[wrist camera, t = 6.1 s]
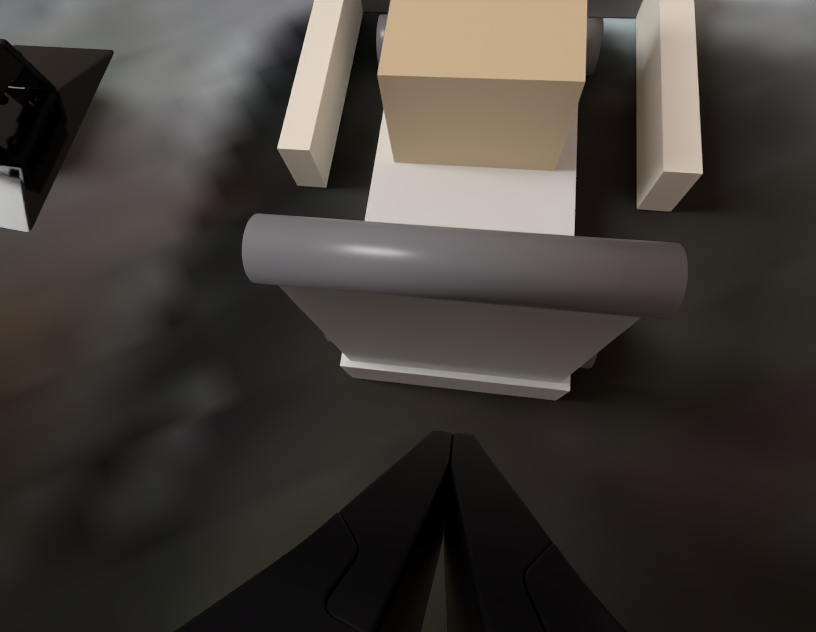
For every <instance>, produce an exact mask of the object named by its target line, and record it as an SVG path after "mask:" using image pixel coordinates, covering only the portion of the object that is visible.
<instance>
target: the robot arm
mask: <svg viewBox="0 0 816 632" xmlns="http://www.w3.org/2000/svg"><path fill="white" fill-rule="evenodd" d="M452 438H453V440H452ZM446 503H447V504H446ZM445 514H446V516H445ZM444 524H445V527H444ZM443 533H444V565H445V588H446V611H447V632H627V631H626V630H625V629H624V628H623V627H622V625H621V624H620V623H619V622H618V621H617V620H616V619H615V618H614V617H613V616H612V614H611V613H610V612H609V611H608V610H607V609H606V608H605V606H604V605H603V604H602V603H601V602H600V601H599V600H598V598H597V597H596V596H595V595H594V594H593V593H592V591H591V590H590V589H589V588H588V587H587V586H586V584H585V583H584V582H583V581H582V579H581V578H580V577H579V575H578V574H577V573H576V572H575V570H574V569H573V568H572V567H571V565H570V564H569V563H568V561H567V560H566V559H565V557H564V556H563V555H562V553H561V552H560V551H559V549H558V548H557V546H556V545H555V544H553V543H552V541H551V539H550V538H549V537H548V535H547V534H546V533H545V531H544V530H543V528H542V527H541V526H540V524H539V523H538V522H537V520H536V519H535V517H534V516H533V515H532V513H531V512H530V511H529V509H528V508H527V507H526V505H525V504H524V502H523V501H522V500H521V498H520V497H519V496H518V494H517V493H516V491H515V490H514V489H513V487H512V486H511V485H510V483H509V482H508V481H507V479H506V478H505V476H504V475H503V474H502V472H501V471H500V470H499V468H498V467H497V465H496V464H495V463H494V461H493V460H492V459H491V457H490V456H489V455H488V453H487V452H486V450H485V449H484V448H483V446H482V445H481V444H480V442H479V441H478V439H477V438H476V437H475V436H474V435H473V434H469V433H461V432H455V433H454V434H452V432H450V431H444V430H432V431H430V432H429V433H428V434H427V435H426V436H425V437H424V438H423V439H421V440H420V441H419V442H418V443H417V444H416V445H415V446H413V447H412V448H411V449H410V450H409V451H408V452H407V453H405V454H404V455H403V456H402V457H401V458H400V459H399V460H398V461H396V462H395V463H394V464H393V465H392V466H391V467H390V468H388V469H387V470H386V471H385V472H384V473H383V474H382V475H380V476H379V477H378V478H377V479H376V480H375V481H374V482H373V483H371V484H370V485H369V486H368V487H367V488H366V489H365V490H363V491H362V492H361V493H360V494H359V495H358V496H357V497H355V498H354V499H353V500H352V501H351V502H350V503H349V504H347V505H346V506H345V507H344V508H343V509H342V510H341V511H340V512H339V513H336V514H335V515H334V516H333V517H332V518H331V519H329V520H328V521H327V522H326V523H325V524H324V525H323V526H321V527H320V528H319V529H318V530H316V531H315V532H314V533H313V534H312V535H310V536H309V537H308V538H307V539H305V540H304V541H303V542H302V543H300V544H299V545H298V546H296V547H295V548H294V549H292V550H291V551H289V552H288V553H287V554H285V555H284V556H283V557H281V558H280V559H278V560H277V561H276V562H274V563H273V564H271V565H270V566H268V567H267V568H266V569H264V570H263V571H261V572H260V573H258V574H257V575H255V576H254V577H253V578H251V579H250V580H248V581H247V582H245V583H244V584H242V585H241V586H240V587H238V588H237V589H235V590H234V591H232V592H231V593H229V594H228V595H227V596H225V597H224V598H222V599H221V600H219V601H218V602H216V603H215V604H213V605H212V606H211V607H209V608H208V609H206V610H205V611H203V612H202V613H200V614H199V615H198V616H196V617H195V618H193V619H192V620H190V621H189V622H187V623H186V624H185V625H183V626H182V627H180V628H179V629H177V630H176V631H174V632H421V629H422V624H423V620H424V616H425V612H426V608H427V604H428V599H429V595H430V591H431V587H432V583H433V579H434V574H435V570H436V566H437V562H438V558H439V554H440V549H441V545H442V540H443Z"/></svg>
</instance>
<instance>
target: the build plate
mask: <svg viewBox="0 0 816 632" xmlns="http://www.w3.org/2000/svg"><path fill="white" fill-rule="evenodd" d="M113 54H114V52H113V50H101V49H81V48H61V47H41V46H21V45H13V46H12V45H11V44H10V43H9V42H8V41H7V40H5V39H0V227H4V228H9V229H15V230H20V231H25V232H28V231H30V230H31V229H32V228H33V226H34V224H35V221H36V219H37V217H38V215H39V213H40V211H41V208H42V206H43V204H44V202H45V200H46V198H47V196H48V193H49V191H50V189H51V187H52V185H53V183H54V181H55V178H56V176H57V174H58V172H59V170H60V168H61V165H62V163H63V161H64V159H65V157H66V155H67V153H68V150H69V148H70V146H71V144H72V142H73V140H74V138H75V135H76V133H77V131H78V129H79V127H80V125H81V122H82V120H83V118H84V116H85V114H86V112H87V110H88V107H89V105H90V103H91V101H92V99H93V97H94V95H95V92H96V90H97V88H98V86H99V84H100V82H101V79H102V77H103V75H104V73H105V71H106V69H107V67H108V64H109V62H110V60H111V58H112V56H113Z"/></svg>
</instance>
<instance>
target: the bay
mask: <svg viewBox="0 0 816 632" xmlns="http://www.w3.org/2000/svg"><path fill="white" fill-rule="evenodd" d="M390 1H391V0H314V4H313V8H312V12H311V16H310V20H309V24H308V28H307V32H306V36H305V40H304V44H303V48H302V52H301V56H300V60H299V64H298V68H297V72H296V76H295V80H294V84H293V88H292V92H291V96H290V100H289V104H288V108H287V112H286V116H285V120H284V124H283V128H282V132H281V136H280V140H279V144H278V148H277V149H278V151H279V152H280V154H281V156H282V158H283V160H284V161H285V163H286V165H287V167H288V169H289V171H290V172H291V174H292V176H293V178H294V180H295V181H296V183H297V185H298V186H309V187H323V188H326V187H327V182H328V177H329V172H330V168H331V163H332V158H333V153H334V149H335V144H336V139H337V134H338V130H339V125H340V120H341V115H342V110H343V106H344V101H345V96H346V91H347V87H348V82H349V77H350V72H351V68H352V63H353V58H354V53H355V49H356V44H357V39H358V34H359V30H360V25H361V20H362V15H363V12H389V6H390ZM587 17H628V18H636V124H637V209H641V210H655V211H670V212H671V211H672V210H673V208H674V207H675V206H676V205H677V204H678V203H679V201H680V200H681V199H682V198H683V197H684V195H685V194H686V193H687V192H688V191H689V190H690V188H691V187H692V186H693V185H694V184H695V182H696V181H697V180H698V179H699V178H700V177H701V175H702V174H703V167H702V147H701V128H700V108H699V88H698V69H697V49H696V29H695V10H694V0H587Z"/></svg>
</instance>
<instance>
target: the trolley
mask: <svg viewBox="0 0 816 632" xmlns="http://www.w3.org/2000/svg"><path fill="white" fill-rule="evenodd" d="M602 37H603V18H587V0H391V1H390V6H389V12H388V14H380V16H379V18H378V23H377V33H376V48H377V59H378V64H379V67H378V73H377V77H378V82H379V87H380V93H381V98H382V103H383V108H384V111H383V117H382V122H381V128H380V134H379V140H378V146H377V152H376V158H375V163H374V169H373V175H372V181H371V187H370V193H369V199H368V205H367V210H366V216H365V221H356V220H342V219H327V218H313V217H299V216H285V215H270V214H255V215H253V216H252V217H251V218H250V220H249V221H248V223H247V225H246V228H245V231H244V236H243V242H242V259H243V265H244V269H245V272H246V274H247V276H248V278H249V279H250V280H251V281H252V282H254V283H261V284H272V285H278V286H279V287H280V288H281V289H282V290H283V291H284V292H285V293H286V294H287V295H288V296H289V297H290V298H291V299H292V300H293V301H294V302H295V303H296V304H297V305H298V306H299V308H300V309H301V310H302V311H303V312H304V313H305V314H306V315H307V316H308V317H309V318H310V319H311V320H312V321H313V322H314V323H315V324H316V325H317V326H318V327H319V328H320V330H321V331H322V332H323V333H324V334H325V338H326V340H327V341H329V342H333V343H334V344H335V345H336V346H337V347H338V348H339V349H340V350H341V351H342V357H341V363H340V366H341V367H342V368H343V369H344V370H345V371H346V372H347V373H348V374H349V375H351V376H352V377H353V378H360V379H369V380H377V381H386V382H395V383H404V384H413V385H422V386H431V387H440V388H449V389H458V390H467V391H476V392H485V393H494V394H503V395H511V396H520V397H529V398H538V399H547V400H557V399H559V398H560V397H562V396H563V395H565V394H566V393H568V392H569V391H570V375H571V374H572V373H573V372H574V371H576V370H577V369H578V368H579V367H581V368H591V367H592V366H593V365H594V363H595V360H596V357H597V354H598V352H599V351H600V350H602V349H603V348H604V347H605V346H606V345H608V344H609V343H610V342H611V341H613V340H614V339H615V338H616V337H618V336H619V335H620V334H621V333H623V332H624V331H625V330H626V329H628V328H629V327H630V326H631V325H632V324H634V323H635V322H636V321H637V320H639V319H640V318H641V317H642V318H654V319H665V320H668V319H670V318H672V317H673V316H674V315H675V314H676V312H677V311H678V309H679V307H680V305H681V303H682V300H683V298H684V294H685V290H686V285H687V277H688V263H687V257H686V253H685V250H684V248H683V247H682V246H681V245H680V244H679V243H669V242H655V241H641V240H626V239H612V238H598V237H584V236H574V230H575V194H576V159H577V123H578V102H579V99H580V96H581V93H582V90H583V87H584V84H585V79H586V75H592V74H593V73H594V70H595V68H596V65H597V62H598V58H599V54H600V49H601V44H602Z"/></svg>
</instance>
